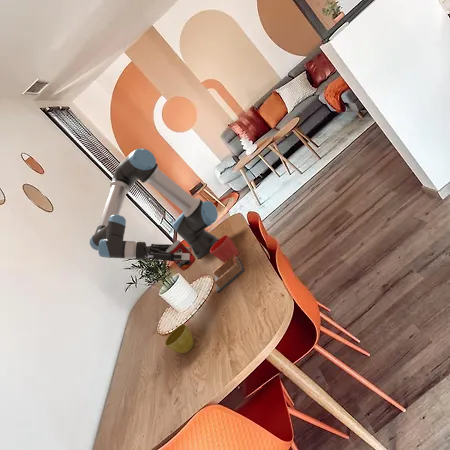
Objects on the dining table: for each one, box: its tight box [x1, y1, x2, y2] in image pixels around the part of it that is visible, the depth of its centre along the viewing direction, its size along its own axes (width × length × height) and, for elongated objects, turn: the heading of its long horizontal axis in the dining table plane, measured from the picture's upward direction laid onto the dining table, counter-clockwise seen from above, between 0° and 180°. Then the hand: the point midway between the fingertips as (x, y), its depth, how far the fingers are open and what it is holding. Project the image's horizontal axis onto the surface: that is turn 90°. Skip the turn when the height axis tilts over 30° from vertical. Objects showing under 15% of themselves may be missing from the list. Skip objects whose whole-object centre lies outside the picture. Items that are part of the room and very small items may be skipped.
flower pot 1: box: [164, 323, 195, 354], centre depth 180 cm, size 10×10×7 cm
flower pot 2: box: [209, 234, 240, 263], centre depth 224 cm, size 11×11×10 cm
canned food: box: [166, 239, 196, 272], centre depth 214 cm, size 8×8×11 cm
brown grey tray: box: [212, 255, 245, 294], centre depth 210 cm, size 16×14×4 cm
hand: (189, 253), depth 214 cm, fingers closed on canned food, 8 cm apart
